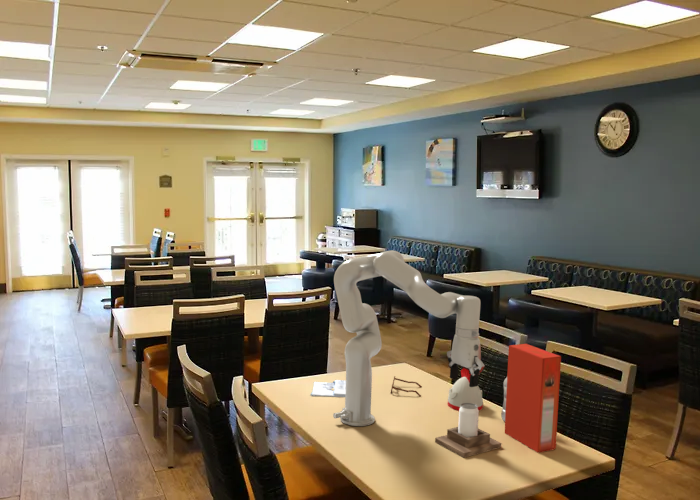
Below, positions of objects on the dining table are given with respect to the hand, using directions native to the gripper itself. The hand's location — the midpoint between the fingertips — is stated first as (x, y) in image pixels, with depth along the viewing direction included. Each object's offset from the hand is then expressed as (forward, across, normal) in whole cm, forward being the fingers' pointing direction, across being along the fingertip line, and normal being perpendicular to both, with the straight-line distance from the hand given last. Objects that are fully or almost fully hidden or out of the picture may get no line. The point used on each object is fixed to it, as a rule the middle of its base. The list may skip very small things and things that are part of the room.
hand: (463, 382), depth 208 cm
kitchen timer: (+21, +26, -26) cm, 42 cm away
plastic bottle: (+21, +5, -30) cm, 36 cm away
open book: (+23, +66, +10) cm, 71 cm away
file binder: (+21, -11, -22) cm, 32 cm away
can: (+19, -3, 0) cm, 20 cm away
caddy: (+21, -4, -1) cm, 21 cm away
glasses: (+22, +51, -16) cm, 58 cm away
